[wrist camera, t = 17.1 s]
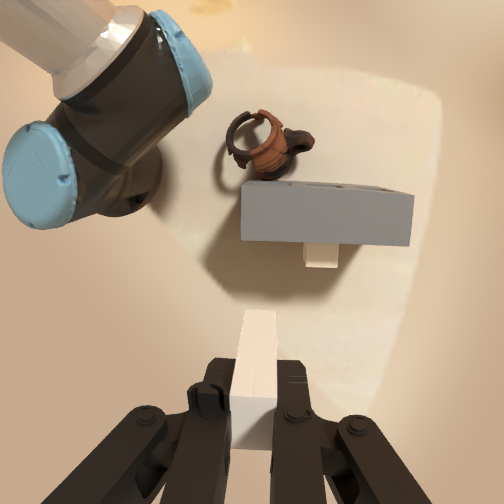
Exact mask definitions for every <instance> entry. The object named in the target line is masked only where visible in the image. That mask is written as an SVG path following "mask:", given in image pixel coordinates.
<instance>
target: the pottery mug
mask: <svg viewBox="0 0 504 504" xmlns="http://www.w3.org/2000/svg"><path fill="white" fill-rule="evenodd" d="M252 118H254V119H256V120H262V119H265V118H267V119H268V120H269V121H270V123H271V126H272V128H271V133H270V135H269V137H268V139H267V140H266V141H265V142H264V143H263V144H262V145H261V146H259V147H258V148H255V149H253V150H250V151H243V150H239V149H237V148H236V147H235V146H234V144H233V136H234V133H235V131H236V130H237V128H238V127H239V126H240V125H241V124H242V123H243V122H245V121H247V120H249V119H252ZM281 127H283V124H282V123H281V122H280V121H279V120H278V119H277V118H276V117H274V116H273V115H272V114H271V113H269V112H267V111H265V110H259V111H258V113H254V114H250V112H248V111H246V112H244V113H242V114H240V115H239V116H238V117H236V118H235V119H234V120H233V122H232V123H231V124H230V127H229V128H228V130H227V134H226V143H227V146H228V154H229V155H231V154H232V153H233V157H234V160H235V161H236V162H237V164H238V166H239V167H240V168H242V169H246V164H247V163H248V162H249V161H250V160H251V159H253V164H254V169H255V170H256V171H257V172H259V173H262V172H264V173H265V174H266V175H257V178H259V179H262V180H273V179H276V178H279V177H280V176H282V175H283V174H285V173H286V172H287V171H288V169H289V168H290V166H291V164H292V161H293V158H294V156H295V155H297V154H298V153H301V152H306V151H309V150H311V149H312V147H313V145H314V143H315V139H314V138H313V137H312V135H311V134H310V133H309V132H306V131H301V130H297V131H293V130H291V129H289V128H285V129H284V132H283V131H282V130H281ZM285 152H287V155H286V154H284V153H285Z"/></svg>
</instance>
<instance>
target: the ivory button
mask: <svg viewBox="0 0 504 504" xmlns="http://www.w3.org/2000/svg"><path fill="white" fill-rule="evenodd" d="M338 255H339V244H334V243H307V242H304V244H303V260H304V263H305V266H306V267H325V268H337V265H338Z"/></svg>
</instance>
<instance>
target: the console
mask: <svg viewBox="0 0 504 504" xmlns="http://www.w3.org/2000/svg"><path fill="white" fill-rule="evenodd" d="M413 205H414V195H410V194H406V193H402V192H398V191H394V190H390V189H386V188H381V187H377V186H364V185H351V184H337V183H320V182H300V181H274V180H249V181H247V182H246V183H244V184H243V185H241V240H248V241H279V242H307V243H334V244H360V245H384V246H407V247H409V243H410V235H411V226H412V216H413Z"/></svg>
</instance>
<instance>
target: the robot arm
mask: <svg viewBox="0 0 504 504" xmlns="http://www.w3.org/2000/svg"><path fill="white" fill-rule="evenodd" d="M0 41H2V42H3V43H5V44H6V45H8V46H9V47H11V48H12V49H14V50H16V51H17V52H18V53H20V54H22V55H23V56H24V57H26V58H28V59H29V60H30V61H32V62H34V63H35V64H37V65H38V66H39V67H41V68H42V69H44V70H45V71H47V72H48V73H50V74H51V75H52V78H53V91H54V96H55V97H56V98H57V99H58V100H60V101H61V102H60V104H59V105H58V106H57V107H56V108H55V110H54V111H53V112H52V113H51V115H50V116H49V117H48V118H47V120H46V121H45V122H44V121H34V122H32V123H30V124H26V125H24V126H22V127H21V128H20V129H19V130H18V131H16V132H15V134H14V135H13V136H12V138H11V139H10V141H9V143H8V145H7V148H6V151H5V154H4V158H3V164H2V175H3V189H4V193H5V196H6V199H7V202H8V204H9V206H10V208H11V210H12V211H13V213H14V214H15V216H16V217H17V218H18V219H19V220H20V221H21V222H22V223H23V224H25V225H26V226H28V227H30V228H34V229H39V230H45V229H51V228H58V227H62V226H64V225H65V224H67V223H70V222H73V221H76V220H78V219H81V218H84V217H87V216H90V215H93V214H95V213H98V214H100V215H104V216H108V217H121V216H125V215H128V214H131V213H134V212H135V211H138V210H139V209H141V208H142V207H144V206H145V205H146V204H147V203H148V202H149V201H150V200H151V198H152V197H153V195H154V194H155V192H156V190H157V188H158V185H159V182H160V178H161V168H162V167H161V157H160V153H159V150H158V148H157V145H156V144H157V143H158V142H159V141H160V140H161V139H162V138H163V137H165V136H166V135H167V134H168V133H169V132H170V131H171V130H172V129H174V128H175V127H176V126H177V125H178V124H179V123H180V122H182V121H183V120H184V119H185V118H189V117H190V115H191V114H192V112H193V111H194V110H195V109H196V108H197V107H198V106H199V105H200V104H201V103H203V102H204V101H205V100H206V99H207V98H208V97H209V96H210V94H211V91H212V88H213V81H212V78H211V75H210V73H209V70H208V68H207V66H206V65H205V63H204V61H203V59H202V58H201V56H200V55H199V53H198V51H197V50H196V48H195V47H194V45H193V44H192V43H191V41H190V40H189V39H188V38H187V37H186V36H185V34H184V33H183V31H182V30H181V28H180V27H179V25H178V24H177V23H176V22H175V21H174V20H173V19H172V18H171V16H169V15H168V14H167V13H166V12H164V11H163V10H157V11H155V12H151V13H149V14H147V13H146V12H145V11H144V10H143V9H142V8H141V7H139V6H136V5H131V6H115V5H114V4H113V3H112V2H111V1H110V0H0ZM187 396H188V404H189V410H188V411H186V412H183V413H179V414H172V415H165V413H164V412H163V411H162V410H161V409H160V408H158V407H156V406H150V405H146V406H140V407H137V408H134V409H133V410H132V411H130V412H129V413H128V414H127V416H126V417H125V418H124V419H123V420H122V421H121V422H120V423H119V424H118V425H117V426H116V427H115V428H114V429H113V430H112V431H111V432H110V433H109V435H107V436H106V438H105V439H104V440H103V441H102V442H101V443H100V444H99V445H98V446H97V447H96V448H95V449H94V450H93V451H92V452H91V453H90V454H89V455H88V456H87V457H86V458H85V459H84V460H83V461H82V462H81V463H80V464H79V466H77V467H76V468H75V469H74V470H73V471H72V472H71V473H70V474H69V476H68V477H67V478H66V479H65V480H64V481H63V482H62V483H61V484H60V485H59V486H58V487H57V488H56V489H55V490H54V491H53V492H52V493H51V494H50V495H49V496H48V497H47V498H46V499H45V500H44V501H43V502H42V503H41V504H151V503H152V502H153V500H154V499H155V497H156V496H157V494H158V493H159V492H160V490H161V489H162V487H163V486H164V484H165V483H166V484H165V487H164V491H163V494H162V497H161V501H160V504H224V500H225V493H226V485H227V479H228V472H229V464H230V448H233V449H248V450H272V458H271V467H270V473H271V482H270V483H271V484H270V504H327V502H326V493H325V485H324V476H323V475H325V477H326V480H327V482H328V484H329V486H330V488H331V490H332V493H333V495H334V497H335V499H336V501H337V503H338V504H432V503H431V501H430V500H429V499H428V497H427V496H426V494H425V493H424V491H423V490H422V489H421V487H420V486H419V484H418V483H417V481H416V480H415V479H414V477H413V476H412V474H411V473H410V472H409V470H408V469H407V467H406V466H405V465H404V463H403V462H402V460H401V459H400V458H399V456H398V455H397V453H396V452H395V450H394V449H393V447H392V446H391V445H390V443H389V442H388V441H387V439H386V438H385V436H384V435H383V433H382V432H381V430H380V429H379V428H378V426H377V425H376V423H375V422H374V421H372V420H371V419H370V418H368V417H366V416H362V415H349V416H347V417H344V418H343V419H342V420H341V421H340V422H339V423H337V422H333V421H328V420H325V419H322V418H320V417H318V416H317V415H316V414H315V413H314V411H313V410H312V408H311V403H310V396H309V389H308V383H307V375H306V368H305V366H304V365H303V364H302V363H301V362H300V360H277V344H276V310H249V309H245V313H244V319H243V324H242V330H241V336H240V341H239V346H238V352H237V358H236V359H228V358H214V359H213V360H212V361H211V362H210V363H209V364H208V366H207V369H206V373H205V376H204V380H203V382H199V383H195V384H194V385H192V386H191V387H190V388H189V389H188V390H187Z"/></svg>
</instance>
